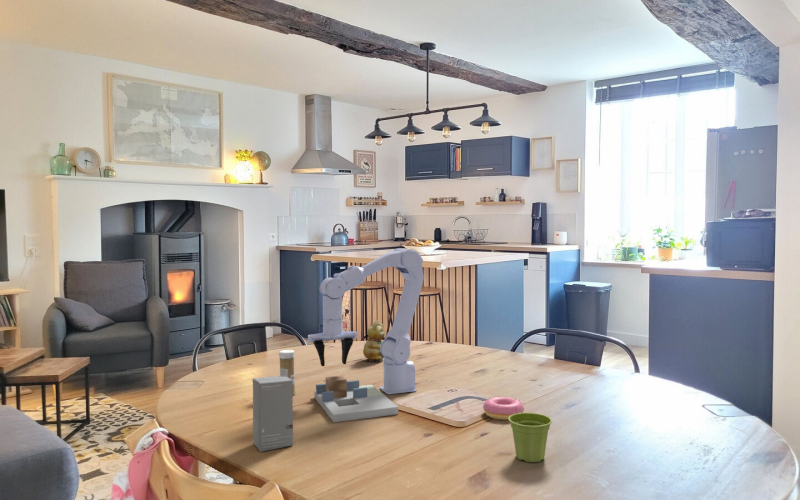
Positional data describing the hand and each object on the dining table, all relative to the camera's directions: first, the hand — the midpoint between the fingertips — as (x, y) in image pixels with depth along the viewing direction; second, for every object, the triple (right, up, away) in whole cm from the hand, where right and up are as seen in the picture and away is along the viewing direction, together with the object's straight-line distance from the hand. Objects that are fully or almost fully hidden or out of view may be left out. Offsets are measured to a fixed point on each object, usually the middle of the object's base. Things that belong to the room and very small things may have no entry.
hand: (333, 364), depth 179 cm
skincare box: (-10, -13, -35) cm, 39 cm away
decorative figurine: (+10, -8, +50) cm, 51 cm away
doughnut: (+48, -11, -15) cm, 51 cm away
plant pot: (+48, -12, -45) cm, 67 cm away
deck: (+7, -11, -6) cm, 14 cm away
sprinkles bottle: (-15, -11, +6) cm, 19 cm away
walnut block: (+1, -9, -2) cm, 9 cm away
